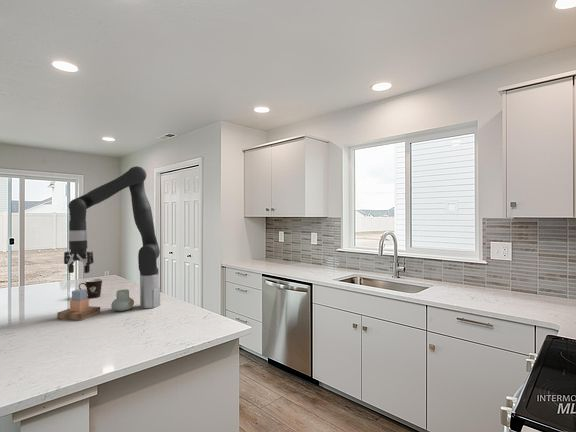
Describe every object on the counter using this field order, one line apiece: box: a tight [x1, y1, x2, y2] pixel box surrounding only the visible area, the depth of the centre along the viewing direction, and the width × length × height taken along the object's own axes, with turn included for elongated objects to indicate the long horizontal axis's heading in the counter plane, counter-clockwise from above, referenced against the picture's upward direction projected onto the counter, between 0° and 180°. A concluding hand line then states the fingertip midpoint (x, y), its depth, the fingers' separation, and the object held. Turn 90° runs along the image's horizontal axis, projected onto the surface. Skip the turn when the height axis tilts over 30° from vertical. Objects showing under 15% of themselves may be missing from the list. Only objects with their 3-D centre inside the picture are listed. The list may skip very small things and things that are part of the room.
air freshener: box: [110, 288, 135, 312], centre depth 171 cm, size 11×8×10 cm
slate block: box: [71, 288, 88, 301], centre depth 160 cm, size 4×4×4 cm
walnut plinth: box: [56, 305, 101, 321], centre depth 160 cm, size 13×12×3 cm
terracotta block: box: [69, 297, 90, 312], centre depth 160 cm, size 6×6×5 cm
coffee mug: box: [78, 278, 103, 299], centre depth 197 cm, size 12×9×10 cm
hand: (79, 272), depth 160 cm, fingers open, 8 cm apart
